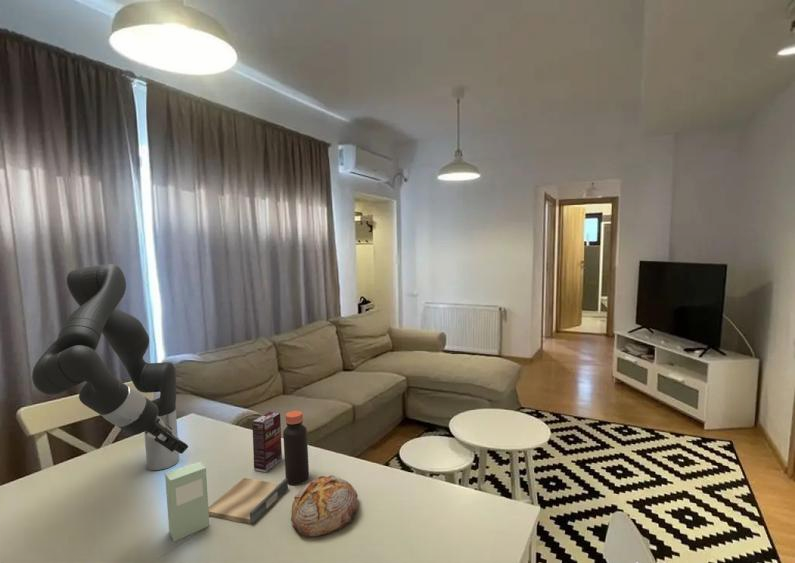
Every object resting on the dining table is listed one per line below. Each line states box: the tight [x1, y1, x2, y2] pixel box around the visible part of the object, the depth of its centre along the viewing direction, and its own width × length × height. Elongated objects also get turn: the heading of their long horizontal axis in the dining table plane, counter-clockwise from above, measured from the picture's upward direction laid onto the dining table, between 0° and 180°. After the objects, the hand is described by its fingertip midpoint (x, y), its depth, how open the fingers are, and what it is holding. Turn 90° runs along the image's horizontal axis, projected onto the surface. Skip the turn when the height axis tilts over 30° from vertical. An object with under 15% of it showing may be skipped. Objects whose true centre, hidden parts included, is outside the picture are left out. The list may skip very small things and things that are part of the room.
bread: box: [290, 475, 359, 537], centre depth 107 cm, size 16×20×10 cm
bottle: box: [282, 410, 310, 486], centre depth 124 cm, size 7×7×20 cm
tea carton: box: [164, 460, 210, 542], centre depth 102 cm, size 4×8×15 cm, turn 133°
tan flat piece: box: [208, 477, 289, 525], centre depth 114 cm, size 15×16×3 cm
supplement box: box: [251, 411, 283, 473], centre depth 132 cm, size 9×5×16 cm, turn 160°
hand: (176, 440), depth 102 cm, fingers open, 8 cm apart
